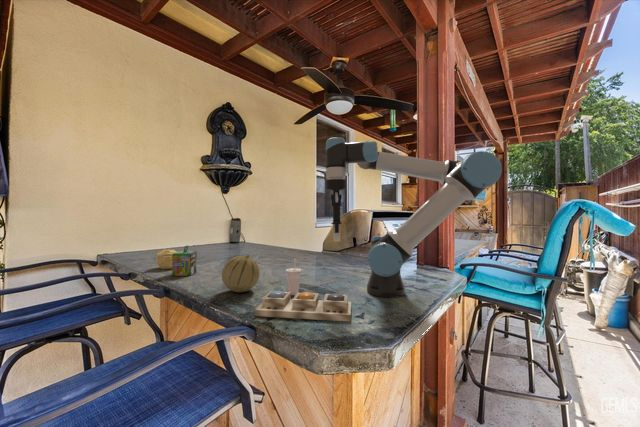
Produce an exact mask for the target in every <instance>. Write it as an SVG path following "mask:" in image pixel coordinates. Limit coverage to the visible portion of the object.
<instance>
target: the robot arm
mask: <svg viewBox="0 0 640 427" xmlns="http://www.w3.org/2000/svg"><path fill="white" fill-rule="evenodd" d="M324 152H325V170H324V174H326V175H325V177H326V181H325V185H326V186H325V190H327V191H332V194H331V195H330V200H331V207H332V222H331V225H332V233H333V234H332V238H333V239H332V240H333V242H337V243H338V242H339V243H340V242H341V225H342V222H341V206H342V197H343V196H342V194H340V191H345V190H346V189H347V181H346V178H347V170H346V168H347V167H346V164H357V165H358V167H359V168H360V169H363V170H373V171H374V170H375V171H379V172H386V173H392V174H395V175H396V174H397V175H401V176H402V175H403V176H406V177H407V176H408V177H414V178H419V179H423V180H430V181H434V182H435V181H436V182H439V184H440V185H441V187H440V188H439V189H437V191H435V192H434V194H432V196H430V197H429V198H428V199H427V200H426V201H425V202H424V203H423V204H422V205H421V206H420V207H419V208H418V209H417V210H416V211H415V212H413V214H412V215H410V216H409V218H407V219H406V221H404V222H403V223H401V225H400V226H399V227H398V228H397V229H396V230H395V231H387V233H386V234H384V235H374V236H372V238H371V242H370V244H371V248H370V249H369V250H368V253H367V263H368V266H369V268H370V270H371V273H370V275H369V278H368V281H367V284H366V285H367V286H366V291H367V293H369V294H371V295H373V296H376V297H380V298H400V297H402V296H404V295H405V293H406V291H405V289H406V288H405V284H404V281H403V279H402V276H401V268H402V266H403V265H404V264H405V263H406V262H407V261H409V259H410V258H411V257H412V256H413V250H414V249H415V248H416V246H418V245H419V244H420V243H421V242H422V241H423V240H424V239H425V238H426V237H427V236H428V235H430V233H432V232H433V231H434V230H435V229H436V228H438V227H439V225H441V224H442V222H444V221H445V220H446V219H447V218H448V217H449V216H450V215H451V214H452V213H453V212H455V211H456V210H457V209H458V208H459V207H460V206H461V205H462V204H464V202H465V201H473V200H475V199H476V198H477V197H478V196H479V195H480V194H481V193H483V191H485V189H487V188H490V187H492V186H493V185H494V184H496V183H497V182H498V181H499V179H500V178H501V175H502V171H503V168H502V167H503V166H502V163H501V160H500V159H499V158H498V157H497V156H496V155H495V154H494V153H491V152H489V151H484V150H483V151H482V150H480V151H475V152H472V153H470V154H468V155H466V156H465V157H464V158H463V159H462V160H451V159H450V160H449V159H447V160H446V161H441V160H440V161H438V160H433V159H427V158H420V157H414V156H410V155H402V154H396V153H390V152H383V151H379V150H378V143H377V141H373V140H365V141H358V142H356V141H355V142H346V140H345V138H343V137H339V136H338V137H337V136H336V137H330V138H328V139H327V140H326V142H325V151H324Z"/></svg>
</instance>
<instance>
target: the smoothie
mask: <svg viewBox="0 0 640 427" xmlns="http://www.w3.org/2000/svg"><path fill="white" fill-rule="evenodd" d="M296 260H297V259H296V258H294V263H293V264H294V265H293V266H294V267H291V268H286V270H285V274H286V281H287V289H288V291H287V292H291V296H295V295H296V294H297V293H299V289H300V281H301V274H302V269H301V268H298V267H296V266H297V265H296V264H297V263H296V262H297V261H296Z"/></svg>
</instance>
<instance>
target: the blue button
mask: <svg viewBox="0 0 640 427" xmlns="http://www.w3.org/2000/svg"><path fill="white" fill-rule="evenodd" d="M269 292H270V291H269ZM284 292H285V291H282V290H274V291H273V292H270V298H283V297H284Z"/></svg>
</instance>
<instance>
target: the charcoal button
mask: <svg viewBox="0 0 640 427" xmlns="http://www.w3.org/2000/svg"><path fill="white" fill-rule="evenodd" d="M328 294H329V295H328V300H330V301H343V295H344V294H342V293H341V294H340V293H328Z"/></svg>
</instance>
